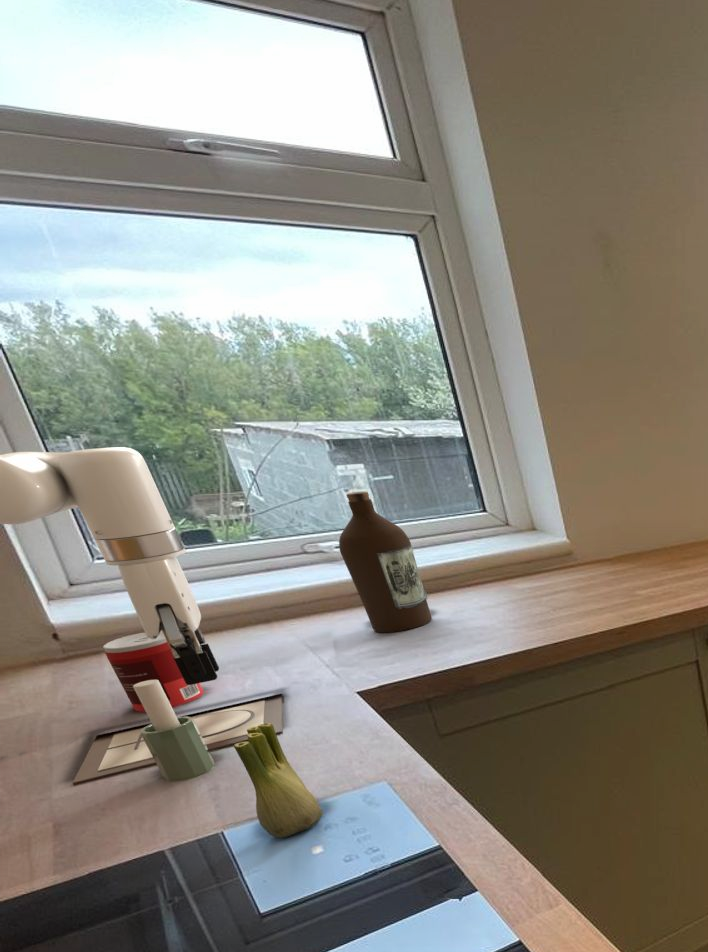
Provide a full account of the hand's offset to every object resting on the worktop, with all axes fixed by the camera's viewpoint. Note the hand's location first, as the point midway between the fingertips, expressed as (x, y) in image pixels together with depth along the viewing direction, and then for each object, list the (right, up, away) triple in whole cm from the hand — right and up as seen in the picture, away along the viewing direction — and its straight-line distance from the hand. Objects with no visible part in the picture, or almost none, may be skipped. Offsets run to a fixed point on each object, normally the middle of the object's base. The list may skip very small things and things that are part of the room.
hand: (203, 676), depth 112 cm
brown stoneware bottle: (-4, +10, +43) cm, 44 cm away
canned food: (-14, -5, +10) cm, 17 cm away
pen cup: (+10, -12, -11) cm, 19 cm away
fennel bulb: (+34, -17, -24) cm, 45 cm away
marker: (+10, -12, -11) cm, 19 cm away
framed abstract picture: (-1, -9, -1) cm, 9 cm away
